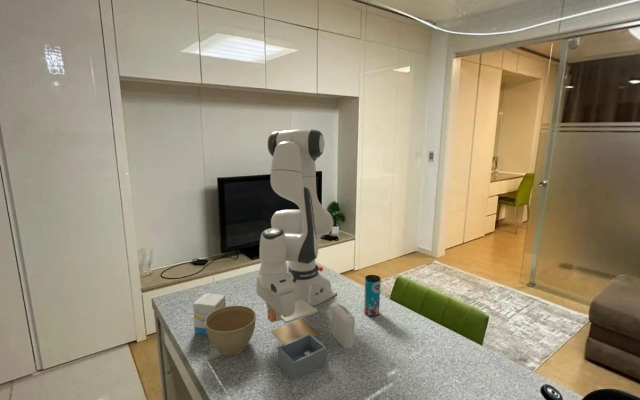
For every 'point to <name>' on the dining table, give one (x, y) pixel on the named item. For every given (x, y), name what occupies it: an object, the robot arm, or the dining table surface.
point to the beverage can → (372, 295)
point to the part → (307, 352)
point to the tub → (301, 356)
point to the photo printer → (343, 325)
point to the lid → (300, 311)
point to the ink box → (206, 310)
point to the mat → (294, 331)
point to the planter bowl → (230, 328)
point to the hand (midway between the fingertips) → (274, 317)
